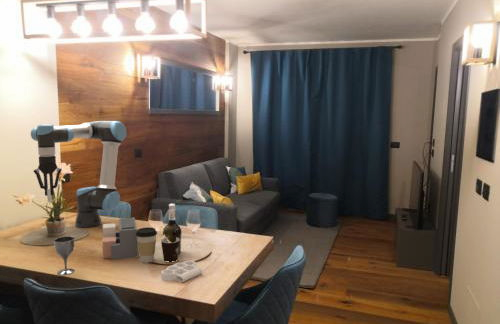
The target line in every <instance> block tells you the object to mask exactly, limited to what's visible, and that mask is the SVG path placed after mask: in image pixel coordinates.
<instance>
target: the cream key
mask: <svg viewBox="0 0 500 324" xmlns="http://www.w3.org/2000/svg"><path fill="white" fill-rule="evenodd" d="M116 232H117V230H116V223H105V224H104V223H103V224H102V239H103V238H105V237H116Z"/></svg>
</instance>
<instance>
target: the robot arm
mask: <svg viewBox="0 0 500 324" xmlns="http://www.w3.org/2000/svg"><path fill="white" fill-rule="evenodd" d="M126 137H127V129H126V126H125V125H124V123H123V122H121V121H118V120H97V121H91V122H90V121H89V122H83V123H81V124H73V125H72V124H70V125H56V126H54V124H38V125H37V126H35V127H33V128H32V129H31V130H30V138H31V139H32V140H33V141H36V142H37V152H38V155H39V156H38V163H39V164H38V166H37V168H36V169H33V173H34V174H35V176H36V178H37V182H38V185H39V188H40V189H43V190H44V196H45V197H47V203H51V202H52V201H53V198H52V196H54V193H55V192H54V189H57V187H58V185H59V180H60V175H61V173H62V171H63V169H62V168H60V167H58V165H57V160H56V159H57V158H56V143H68V142H71V141H72V140H74V139H81V138H82V139H87V140H88V139H91V140H92V139H94V140H101V141H100V143H101V144H102V145H103V146H102V158H101V168H100V174H99V175H100V177H99V184H98V185H97V186H88V187H81V188H79V189H77V190H76V205H77V214H76V218H75V222H74V226H75V227H76V228H83V229H84V228H85V229H86V228H93V227H97V226H100V225H101V224H102V217H101V216H100V213H99V210H100V211H114V210H115V209H117V207H118V206H119V204H120V201H121V195H120V193H119V192H118V188H117V187H116V186H115V183H116V174H117V173H116V172H117V165H118V164H117V163H118V153H119V147H120V145H122V141H124V140H125V138H126ZM40 172H41V173H42V174H43V179H42V177H41V174H40ZM54 172H56V177H55V180H54ZM48 175H49V181H48ZM48 182H49V184H48ZM48 185H49V186H48Z"/></svg>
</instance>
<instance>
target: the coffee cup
mask: <svg viewBox="0 0 500 324" xmlns="http://www.w3.org/2000/svg"><path fill="white" fill-rule="evenodd" d="M157 235H158V232H157V230H156V228H155V227H148V226H147V227H141V228H138V229H137V232H136V236H137V251H138V254H139V255H138V256H139V262H140V263H142V264H148V263H149V262H150V263H152V262H151V261H153V260H154V261H155V253H156V243H157ZM154 261H153V262H154Z"/></svg>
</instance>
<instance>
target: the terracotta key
mask: <svg viewBox="0 0 500 324" xmlns="http://www.w3.org/2000/svg"><path fill="white" fill-rule="evenodd" d="M111 244H116V237H105V238H103V237H102V257H103V259H106V258H107V259H108V258H112V256H111Z"/></svg>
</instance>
